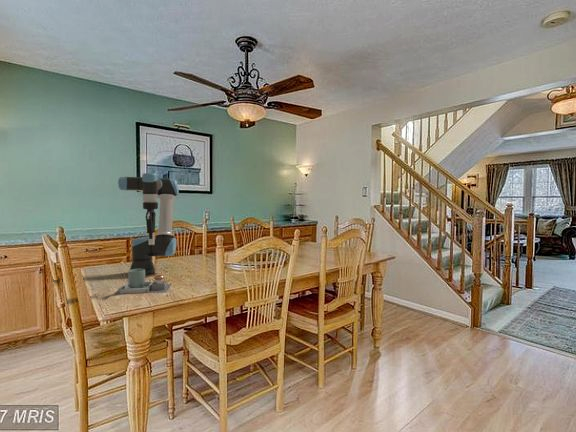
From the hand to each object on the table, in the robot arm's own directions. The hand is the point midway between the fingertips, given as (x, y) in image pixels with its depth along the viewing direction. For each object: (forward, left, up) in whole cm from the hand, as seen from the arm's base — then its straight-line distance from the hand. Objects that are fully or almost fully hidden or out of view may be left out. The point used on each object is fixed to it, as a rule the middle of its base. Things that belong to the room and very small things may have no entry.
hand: (151, 244), depth 175 cm
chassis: (+11, 0, -23) cm, 26 cm away
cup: (+11, -5, -22) cm, 25 cm away
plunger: (+11, +6, -21) cm, 25 cm away
